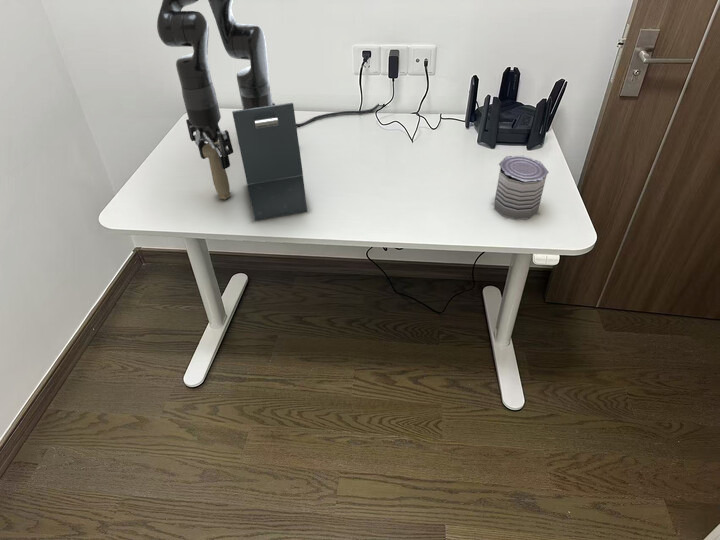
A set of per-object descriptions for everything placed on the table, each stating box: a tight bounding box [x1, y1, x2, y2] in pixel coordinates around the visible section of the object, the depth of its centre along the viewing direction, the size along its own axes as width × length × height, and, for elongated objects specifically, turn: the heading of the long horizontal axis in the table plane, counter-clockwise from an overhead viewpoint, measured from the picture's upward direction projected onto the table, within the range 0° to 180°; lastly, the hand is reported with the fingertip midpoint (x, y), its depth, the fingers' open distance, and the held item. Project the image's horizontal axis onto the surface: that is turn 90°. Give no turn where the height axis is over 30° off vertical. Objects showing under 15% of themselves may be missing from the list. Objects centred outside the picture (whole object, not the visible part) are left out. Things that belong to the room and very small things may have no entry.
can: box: [493, 155, 550, 221], centre depth 130 cm, size 11×11×12 cm
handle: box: [202, 140, 231, 200], centre depth 137 cm, size 5×6×15 cm
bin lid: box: [231, 102, 304, 185], centre depth 120 cm, size 18×14×5 cm
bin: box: [246, 174, 308, 222], centre depth 137 cm, size 17×14×11 cm
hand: (215, 162), depth 135 cm, fingers open, 8 cm apart
